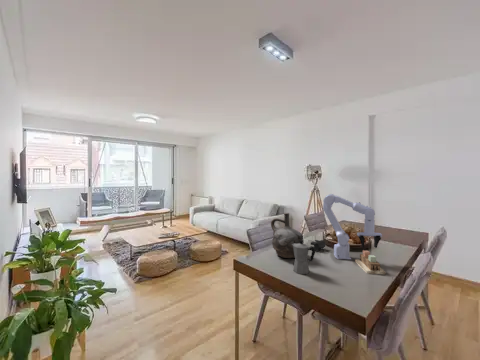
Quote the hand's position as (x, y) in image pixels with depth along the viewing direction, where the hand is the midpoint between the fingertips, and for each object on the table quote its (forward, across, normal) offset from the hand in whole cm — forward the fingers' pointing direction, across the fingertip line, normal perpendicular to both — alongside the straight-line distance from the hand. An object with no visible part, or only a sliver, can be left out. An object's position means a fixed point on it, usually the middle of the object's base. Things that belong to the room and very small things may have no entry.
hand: (369, 247), depth 148 cm
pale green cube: (+4, -4, -14) cm, 15 cm away
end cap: (+10, -28, +20) cm, 36 cm away
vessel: (+10, -52, +5) cm, 53 cm away
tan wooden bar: (+8, -4, -10) cm, 13 cm away
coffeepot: (+10, -45, -21) cm, 51 cm away
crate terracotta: (+4, -4, -6) cm, 8 cm away
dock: (+9, -4, -10) cm, 14 cm away
